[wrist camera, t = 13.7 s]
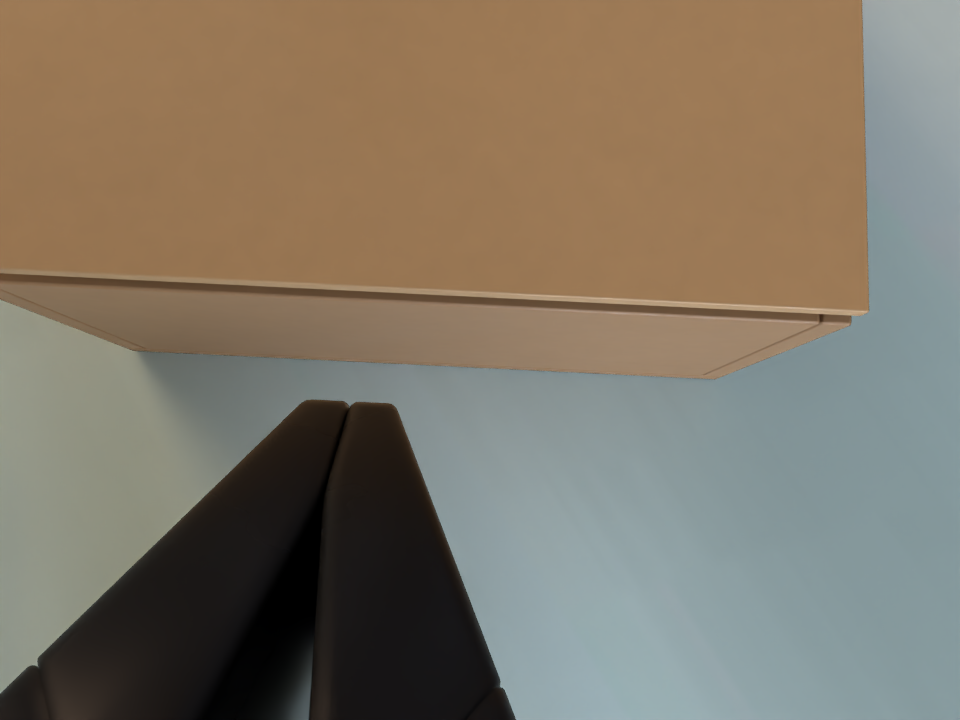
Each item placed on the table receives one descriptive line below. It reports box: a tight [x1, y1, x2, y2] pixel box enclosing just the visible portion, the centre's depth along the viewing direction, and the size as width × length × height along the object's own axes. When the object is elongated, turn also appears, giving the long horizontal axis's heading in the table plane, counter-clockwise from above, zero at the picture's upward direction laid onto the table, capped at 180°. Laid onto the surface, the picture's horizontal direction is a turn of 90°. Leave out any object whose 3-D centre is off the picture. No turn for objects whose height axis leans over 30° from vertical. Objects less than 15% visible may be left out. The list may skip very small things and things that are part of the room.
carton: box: [0, 273, 851, 379], centre depth 18 cm, size 13×14×8 cm
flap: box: [0, 0, 869, 316], centre depth 14 cm, size 6×14×1 cm, turn 87°
